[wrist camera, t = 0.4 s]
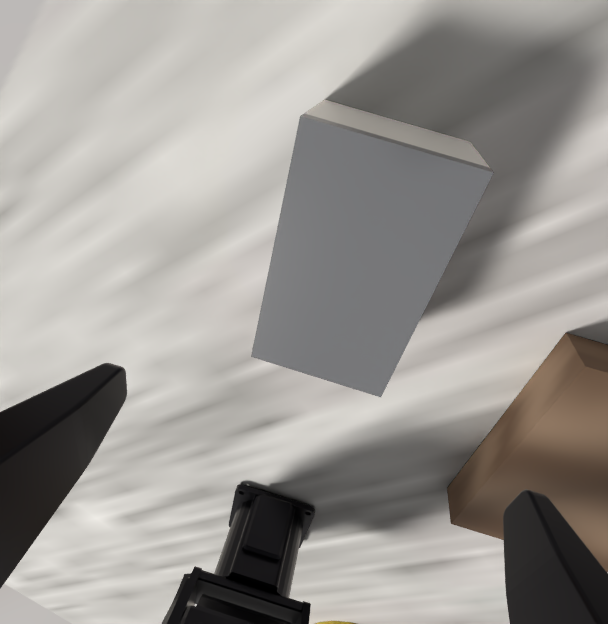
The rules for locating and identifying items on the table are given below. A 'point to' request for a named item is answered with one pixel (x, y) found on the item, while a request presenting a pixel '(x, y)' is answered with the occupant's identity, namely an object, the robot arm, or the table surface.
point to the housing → (362, 242)
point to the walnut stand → (546, 449)
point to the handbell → (335, 622)
